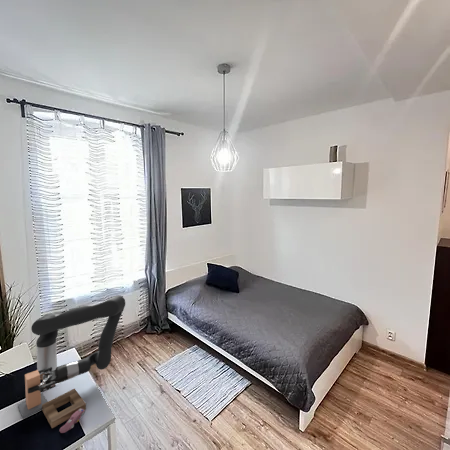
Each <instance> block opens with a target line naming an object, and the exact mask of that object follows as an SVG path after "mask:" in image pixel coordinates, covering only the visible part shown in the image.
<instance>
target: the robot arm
mask: <svg viewBox="0 0 450 450" xmlns="http://www.w3.org/2000/svg"><path fill="white" fill-rule="evenodd" d="M125 307H126V299H125V298H124V297H123V296H122V295H118V294H117V295H114V296H113V297H111V298H109V299H107V300H104V301H103V302H100V303H98V304H94V305H81V306H77V307H73V308H71V309H69V310H65V311H64V312H62V313H60V314H58V315H55V314H54V313H46V314H44V315H43V316H41V317H39V318H38V319H36V320H34V322H33V323H32V325H31V331H32V333H33V334H34V335H36V336H38V338H37V339H36V343H35V345H36V368H37V369H36V370H38V372H39V374H40V381H42V382H40V384H39V385H36V386H33V387H31V388H28V393H32V392H35V391H40V392H41V393H44V392H47V391H49V390H51V389H54V388H56V384H60V383H62V382H66V381H68V380H72V379H74V378H76V377H78V376H80V375H83V374H85V373H88V372H90V370H91V369H92V366H94V365H95V366H96V368H97V369H98V370H101V371H102V370H105V369H106V368H108V367H109V365H110V363H111V361H112V360H111V359H112V348H113V344H114V338H115V335H116V332H117V327H118V325H119V322H120V319H121V316H122V314H123V312H124V310H125ZM102 318H107V320H106V323H105V325H104V327H103V329H102V331H101V334H100V338H99V341H98V347H97V348H98V350H97V351H95V352H93V353H91V354H90V355H88V356H87V357H85V358H82V359H78V360H76V361H70V362H68V363H65V364H62V365H58V358H57V356H58V355H57V338H58V335H59V332H58V331H59V330H61V329H66V328H70V327H73V326H79V325H82V324H86V323H88V322H91V321H94V320H97V319H102Z"/></svg>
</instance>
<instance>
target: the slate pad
mask: <svg viewBox="0 0 450 450" xmlns="http://www.w3.org/2000/svg"><path fill="white" fill-rule="evenodd" d="M48 401H49V400H47V398H46V396H45V394H44V392H41V404H39V405H37V406H35V407H33V408H31V409H29V410H28V408H27V405H26V400H24V401H22V402H20V403H18V404H17V408H18V410H19V413H20V414H21V417H22V419H26V418H27V417H29V416H31V415H33V414H35V413H37V412H39V411H42V404H44V403H46V402H48Z"/></svg>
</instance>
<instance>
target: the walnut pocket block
mask: <svg viewBox="0 0 450 450" xmlns="http://www.w3.org/2000/svg"><path fill="white" fill-rule="evenodd" d="M47 401H48V402H46V403H44V404H42V409H41V411H42V412H43V414H44V416H45V418H46V419H47V422H48V424H49V426H50V427H51V429H54V428H56V427H58V425H61V424H62V423H64V422H67V421H68V420H69V419H70V418H71V416H72V415H73V414H74V413H75V412H76V411H78V410H79V409H80V408H81V409H84V410H85V411H86V409H87V403H86V402H85V401H84V399H83V398H82V396H81V395H80V394H79V392H78V391H77V390H76V388H73V389H71V390H69V391H67V392H64V393H62V394H60V395H59V396H56V397H55V398H52V399H50V400H47ZM69 402H70V404H71V405H70V406H68V407H66V408H65V409H63V410H61V411H59V412H58V410H57V409H58V408H60V407H62V406H64V405H66V404H68V403H69Z"/></svg>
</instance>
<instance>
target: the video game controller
mask: <svg viewBox="0 0 450 450" xmlns="http://www.w3.org/2000/svg"><path fill="white" fill-rule="evenodd" d="M85 411H86V409H85V410H84V409H81V408H80V409H79V410H78V411H76V412H75V413H74V414H73V415H72V416H71V418H70V419H68V420H66V423H65V424H63V425H62V426H61V427H60V428H59V431H58V432H60V434H64V433H67V432H68V431H70V430H71V429H73V428H74V427H75V424H77V423H78V422H79V421H80V419H81V418H82V416H83V415H84V414H85Z"/></svg>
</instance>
